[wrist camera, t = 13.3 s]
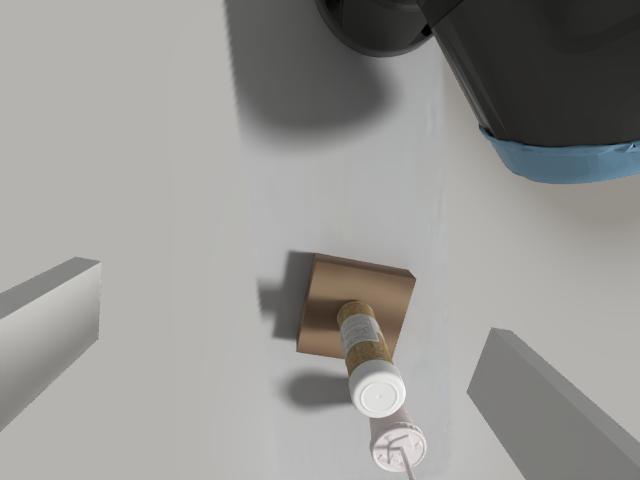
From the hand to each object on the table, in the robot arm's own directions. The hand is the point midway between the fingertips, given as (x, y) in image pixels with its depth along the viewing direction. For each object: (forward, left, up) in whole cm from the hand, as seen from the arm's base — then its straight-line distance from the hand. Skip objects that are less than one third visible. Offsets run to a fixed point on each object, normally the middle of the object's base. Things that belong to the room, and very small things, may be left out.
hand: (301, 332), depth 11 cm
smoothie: (+24, +16, -29) cm, 41 cm away
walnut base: (+12, +9, -29) cm, 32 cm away
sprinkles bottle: (+12, +9, -26) cm, 30 cm away
